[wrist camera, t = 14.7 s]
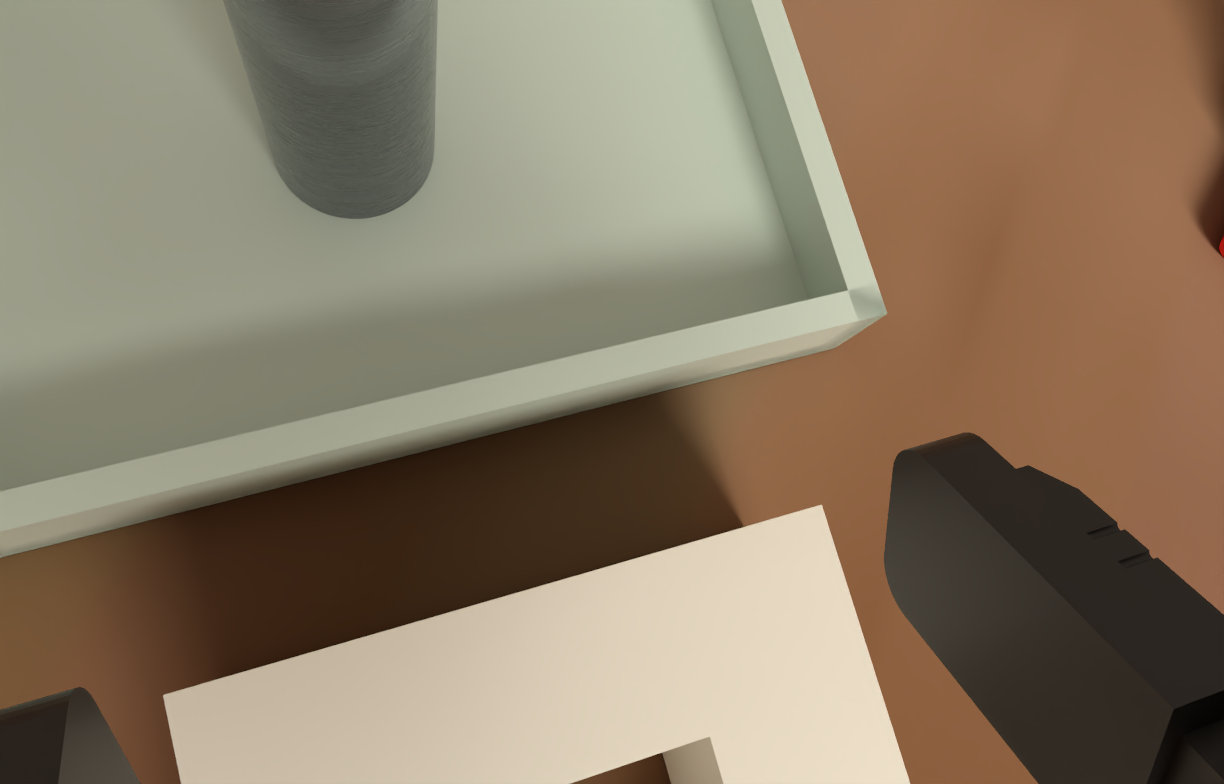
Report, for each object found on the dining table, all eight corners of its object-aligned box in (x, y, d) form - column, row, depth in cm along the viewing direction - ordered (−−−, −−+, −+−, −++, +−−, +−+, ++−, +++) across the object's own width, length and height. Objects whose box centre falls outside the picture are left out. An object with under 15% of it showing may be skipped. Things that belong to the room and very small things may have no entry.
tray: (-64, 573, 17) (-141, 565, 15) (-172, -50, 19) (-255, -145, 17) (834, 348, 21) (887, 313, 19) (670, -152, 23) (699, -241, 21)
